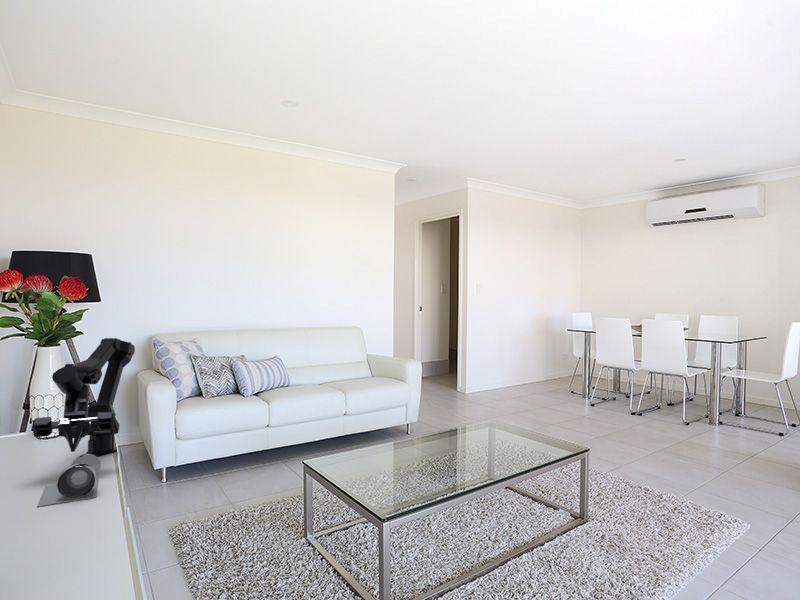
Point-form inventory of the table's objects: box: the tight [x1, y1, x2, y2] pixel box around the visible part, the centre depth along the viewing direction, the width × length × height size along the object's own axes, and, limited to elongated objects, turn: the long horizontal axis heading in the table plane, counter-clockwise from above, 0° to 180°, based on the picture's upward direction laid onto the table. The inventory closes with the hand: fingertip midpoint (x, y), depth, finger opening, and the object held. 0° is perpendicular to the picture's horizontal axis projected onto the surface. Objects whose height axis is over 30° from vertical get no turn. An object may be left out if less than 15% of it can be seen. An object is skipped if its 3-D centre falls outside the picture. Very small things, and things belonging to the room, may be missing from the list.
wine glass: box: [56, 453, 102, 499], centre depth 126 cm, size 8×8×15 cm
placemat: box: [36, 478, 99, 508], centre depth 124 cm, size 14×12×1 cm
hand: (72, 450), depth 129 cm, fingers closed
